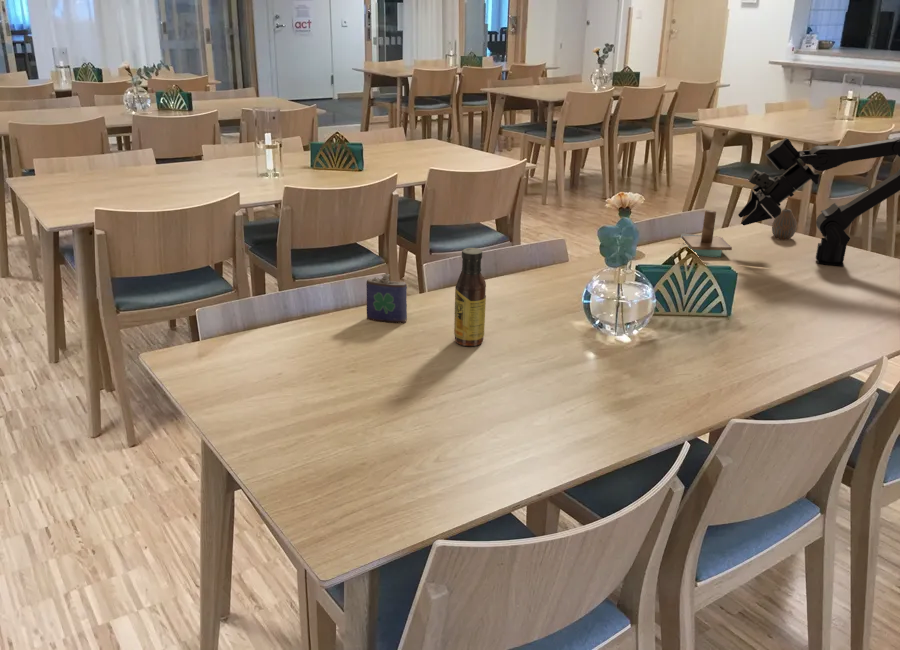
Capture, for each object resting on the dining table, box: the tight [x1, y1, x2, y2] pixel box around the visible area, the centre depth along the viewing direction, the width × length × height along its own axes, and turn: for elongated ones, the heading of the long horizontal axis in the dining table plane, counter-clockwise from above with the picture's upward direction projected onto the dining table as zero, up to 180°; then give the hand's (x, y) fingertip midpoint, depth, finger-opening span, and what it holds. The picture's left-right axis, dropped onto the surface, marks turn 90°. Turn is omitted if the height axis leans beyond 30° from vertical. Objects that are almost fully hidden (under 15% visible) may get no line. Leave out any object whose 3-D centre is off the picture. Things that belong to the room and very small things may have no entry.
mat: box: [679, 233, 724, 240], centre depth 240 cm, size 12×12×1 cm
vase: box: [771, 208, 798, 241], centre depth 244 cm, size 7×7×9 cm
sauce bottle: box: [453, 247, 487, 347], centre depth 163 cm, size 6×6×20 cm
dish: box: [687, 245, 723, 259], centre depth 229 cm, size 9×9×2 cm
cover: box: [682, 209, 733, 251], centre depth 227 cm, size 11×11×10 cm
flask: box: [365, 273, 408, 324], centre depth 176 cm, size 9×3×11 cm, turn 74°
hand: (740, 220), depth 224 cm, fingers open, 9 cm apart
